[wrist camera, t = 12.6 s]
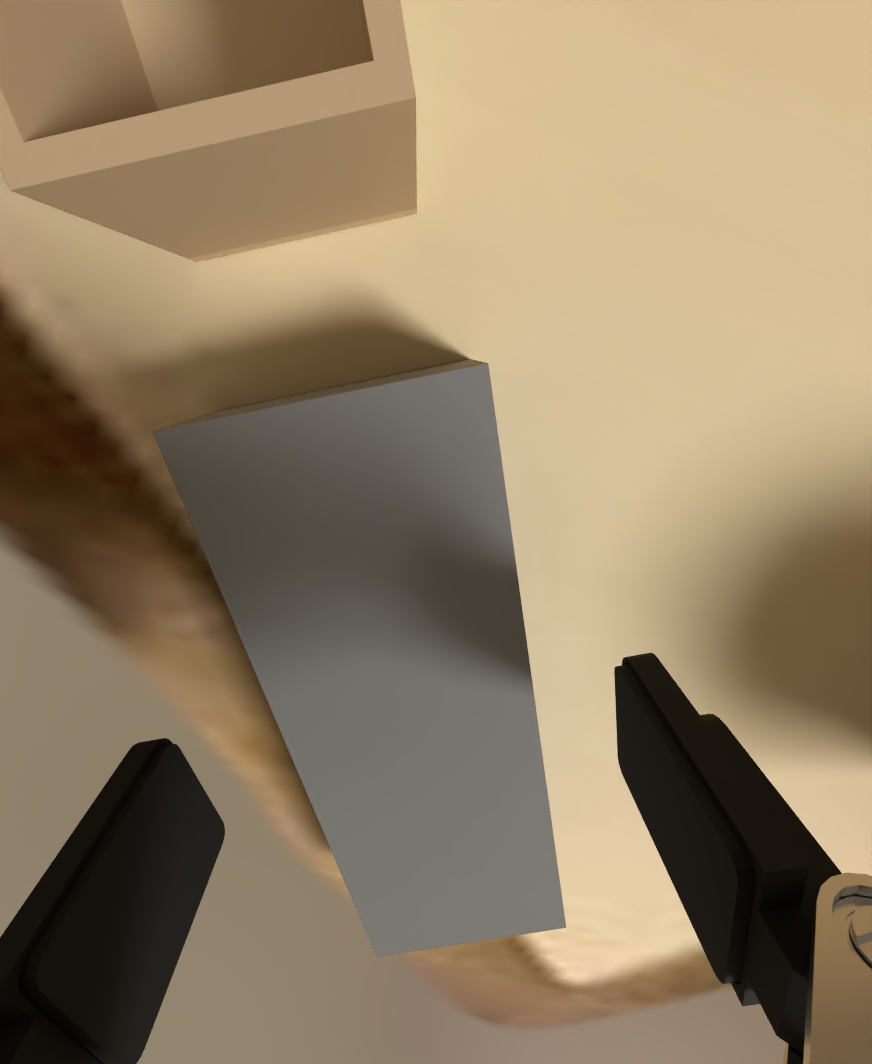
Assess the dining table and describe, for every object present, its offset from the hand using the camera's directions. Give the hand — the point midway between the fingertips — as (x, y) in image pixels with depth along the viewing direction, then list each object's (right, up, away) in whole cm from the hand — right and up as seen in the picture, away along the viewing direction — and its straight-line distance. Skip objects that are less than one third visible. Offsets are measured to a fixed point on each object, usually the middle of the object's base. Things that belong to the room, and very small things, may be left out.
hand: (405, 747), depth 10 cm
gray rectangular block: (0, 0, +5) cm, 5 cm away
